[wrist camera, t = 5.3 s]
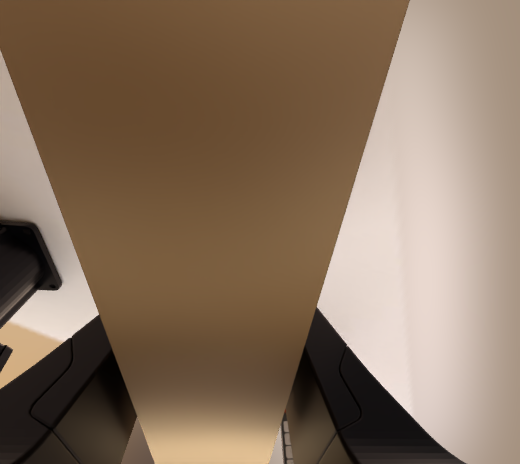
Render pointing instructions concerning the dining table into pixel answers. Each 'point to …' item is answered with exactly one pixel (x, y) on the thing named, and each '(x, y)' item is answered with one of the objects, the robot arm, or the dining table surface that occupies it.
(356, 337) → the dining table surface
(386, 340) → the dining table surface
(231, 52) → the light wooden block
